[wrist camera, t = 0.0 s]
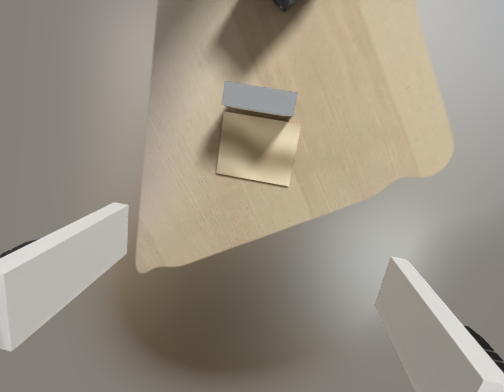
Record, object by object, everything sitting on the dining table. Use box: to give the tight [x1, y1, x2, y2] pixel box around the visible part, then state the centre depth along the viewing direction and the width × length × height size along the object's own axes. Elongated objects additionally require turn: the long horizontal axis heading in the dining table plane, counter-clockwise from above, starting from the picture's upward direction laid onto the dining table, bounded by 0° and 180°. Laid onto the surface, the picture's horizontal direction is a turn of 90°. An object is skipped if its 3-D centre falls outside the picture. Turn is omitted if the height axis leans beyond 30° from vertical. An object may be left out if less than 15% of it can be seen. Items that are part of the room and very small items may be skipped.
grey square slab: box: [222, 81, 298, 117], centre depth 35 cm, size 3×8×9 cm, turn 81°
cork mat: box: [216, 111, 301, 186], centre depth 41 cm, size 9×11×1 cm
